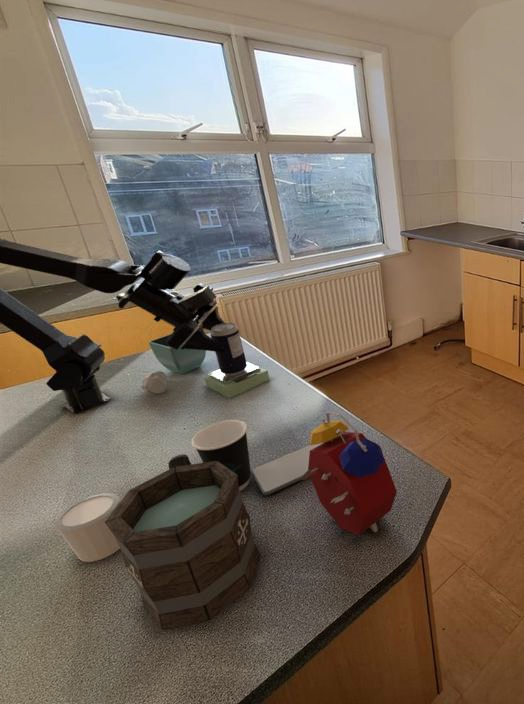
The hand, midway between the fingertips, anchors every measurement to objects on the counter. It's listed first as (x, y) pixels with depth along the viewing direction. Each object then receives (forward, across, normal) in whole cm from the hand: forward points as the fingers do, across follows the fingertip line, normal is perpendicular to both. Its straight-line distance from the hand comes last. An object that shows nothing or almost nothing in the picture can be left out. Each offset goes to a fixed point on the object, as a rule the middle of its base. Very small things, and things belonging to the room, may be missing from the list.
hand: (228, 342), depth 104 cm
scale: (+8, 0, +8) cm, 11 cm away
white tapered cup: (+2, -47, +14) cm, 49 cm away
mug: (+13, -55, +3) cm, 57 cm away
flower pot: (-2, +12, +19) cm, 23 cm away
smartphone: (+21, -37, -5) cm, 43 cm away
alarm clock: (+27, -54, -11) cm, 61 cm away
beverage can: (+6, 0, +6) cm, 8 cm away
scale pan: (+6, 0, +6) cm, 9 cm away
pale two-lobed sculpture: (-5, +3, +21) cm, 22 cm away
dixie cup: (+13, -39, +3) cm, 41 cm away
